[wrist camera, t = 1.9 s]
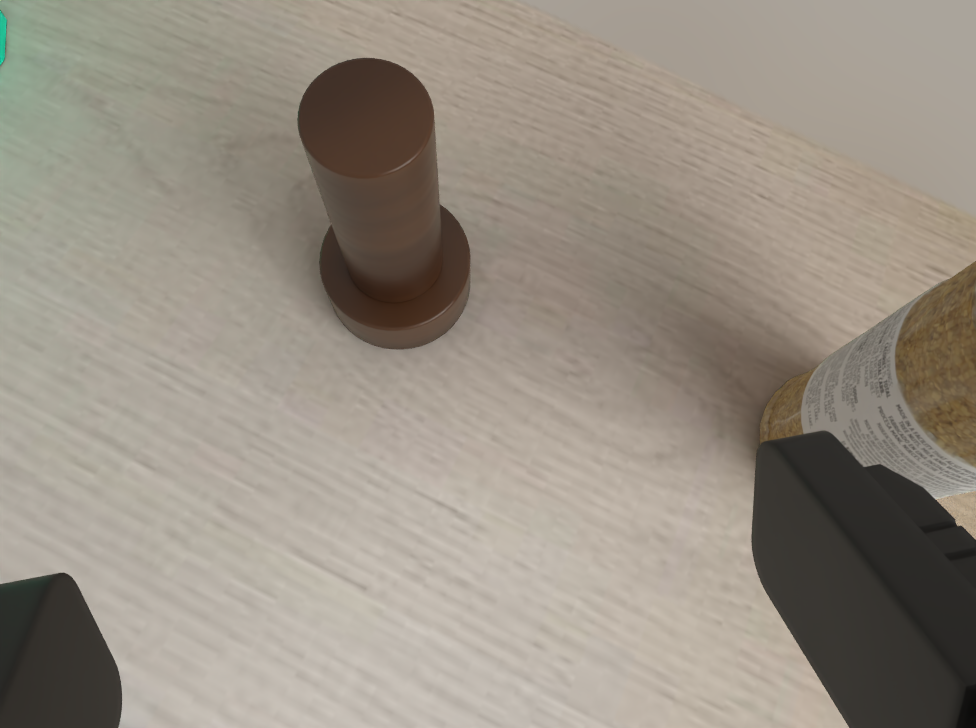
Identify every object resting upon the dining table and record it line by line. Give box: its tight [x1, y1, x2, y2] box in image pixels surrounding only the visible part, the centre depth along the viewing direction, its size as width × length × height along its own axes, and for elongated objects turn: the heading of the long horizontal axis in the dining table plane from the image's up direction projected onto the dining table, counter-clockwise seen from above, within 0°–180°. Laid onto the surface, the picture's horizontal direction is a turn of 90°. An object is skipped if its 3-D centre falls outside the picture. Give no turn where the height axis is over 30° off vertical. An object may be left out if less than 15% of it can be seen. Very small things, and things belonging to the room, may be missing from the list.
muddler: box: [297, 58, 470, 349], centre depth 22 cm, size 4×4×10 cm
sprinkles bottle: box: [760, 261, 976, 499], centre depth 19 cm, size 5×5×13 cm
